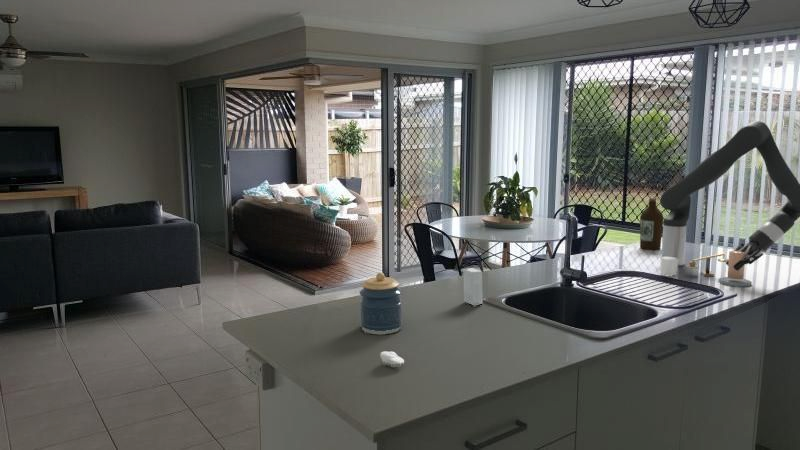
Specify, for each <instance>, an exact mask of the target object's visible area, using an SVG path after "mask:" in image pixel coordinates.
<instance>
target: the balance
mask: <svg viewBox="0 0 800 450" xmlns="http://www.w3.org/2000/svg"><path fill="white" fill-rule="evenodd" d="M725 255H726V254H725V253H724V252H723V253H718V254H713V255H708V256H703V257H699V258H693V259H691V260H690V261H689V264H687V265H686V266H685V267H686V268H688V269H694V270H695V269H699V266H698V265H696V263H697V262H698V261H702V260H705V270H701V271H700V274H701V273H702V274H703V275H704V276H703V275H702V274H701V275H702V276H703V277H713V276H714V277H715V274H714V273H713V272H712V271H710V267H711V258H713V259H714V258H717V261H718V262H721V263H726V262H727V261H728V260H729V258H725ZM721 256H722V258H718V257H721Z"/></svg>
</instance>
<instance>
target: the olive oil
mask: <svg viewBox="0 0 800 450" xmlns="http://www.w3.org/2000/svg"><path fill="white" fill-rule="evenodd" d="M639 218H640V219H639V221H640V222H639V226H640V227H639V228H640V229H639V230H640V231H639V234H640V235H639V236H640V238H639V242H640V243H639V248H640V249H642V250H647V251H657V250H660V249H661V248H662V237H663V221H664V215H663V212H662V211H661V210H660V209H659V208H658V207H657V198H649V199H648V206H647V207H646V208H645V209H644V210H642V212H641V215H640V217H639Z"/></svg>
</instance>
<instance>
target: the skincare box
mask: <svg viewBox="0 0 800 450" xmlns="http://www.w3.org/2000/svg"><path fill="white" fill-rule="evenodd" d="M462 272H463V273H462V275H463V276H462V277H463V301H465V302H467V303H469V304H472V305H478V304H482V303H483V304H484V302H483V301H484V300H483V299H484V298H483V297H484V296H483V295H484V294H483V271H482V270H479V269H477V268H473V267H470V268H465V269H463V270H462ZM465 302H464V303H465ZM467 303H466V304H467ZM469 304H468V305H469Z"/></svg>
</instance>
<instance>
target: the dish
mask: <svg viewBox="0 0 800 450" xmlns="http://www.w3.org/2000/svg"><path fill="white" fill-rule="evenodd" d="M719 282H720V283H719ZM718 283H719V284H721V283H722V284H721V285H724V284H725V285H724V286H728V285H729V286H728V287H734V286H738V287H737V288H740V287H741V288H745V287H746V288H748V287H751V286H752V281H751V280H749V279H746V278H744V279H731V278H728V276H725V277H723V276H722V277H719V278H718Z"/></svg>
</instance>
